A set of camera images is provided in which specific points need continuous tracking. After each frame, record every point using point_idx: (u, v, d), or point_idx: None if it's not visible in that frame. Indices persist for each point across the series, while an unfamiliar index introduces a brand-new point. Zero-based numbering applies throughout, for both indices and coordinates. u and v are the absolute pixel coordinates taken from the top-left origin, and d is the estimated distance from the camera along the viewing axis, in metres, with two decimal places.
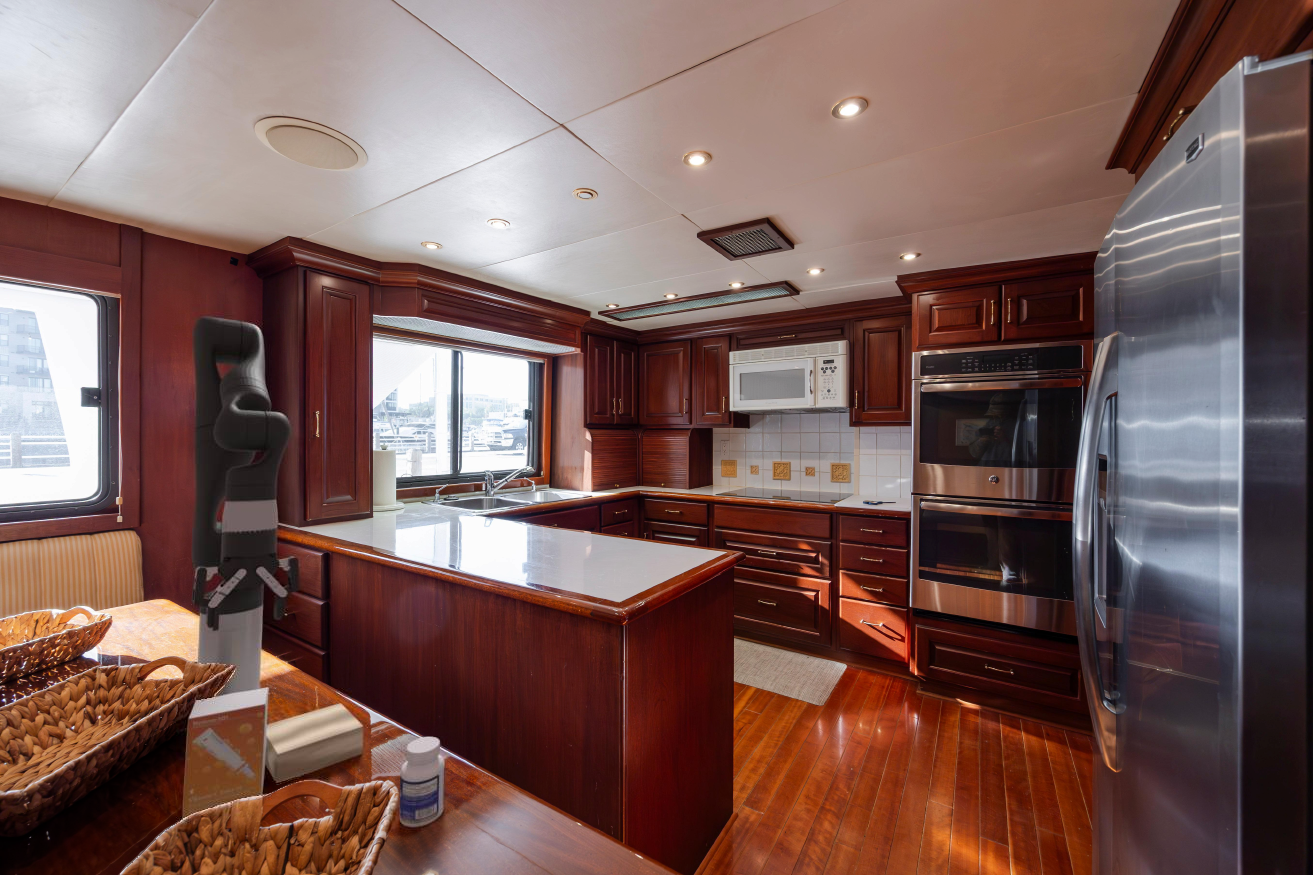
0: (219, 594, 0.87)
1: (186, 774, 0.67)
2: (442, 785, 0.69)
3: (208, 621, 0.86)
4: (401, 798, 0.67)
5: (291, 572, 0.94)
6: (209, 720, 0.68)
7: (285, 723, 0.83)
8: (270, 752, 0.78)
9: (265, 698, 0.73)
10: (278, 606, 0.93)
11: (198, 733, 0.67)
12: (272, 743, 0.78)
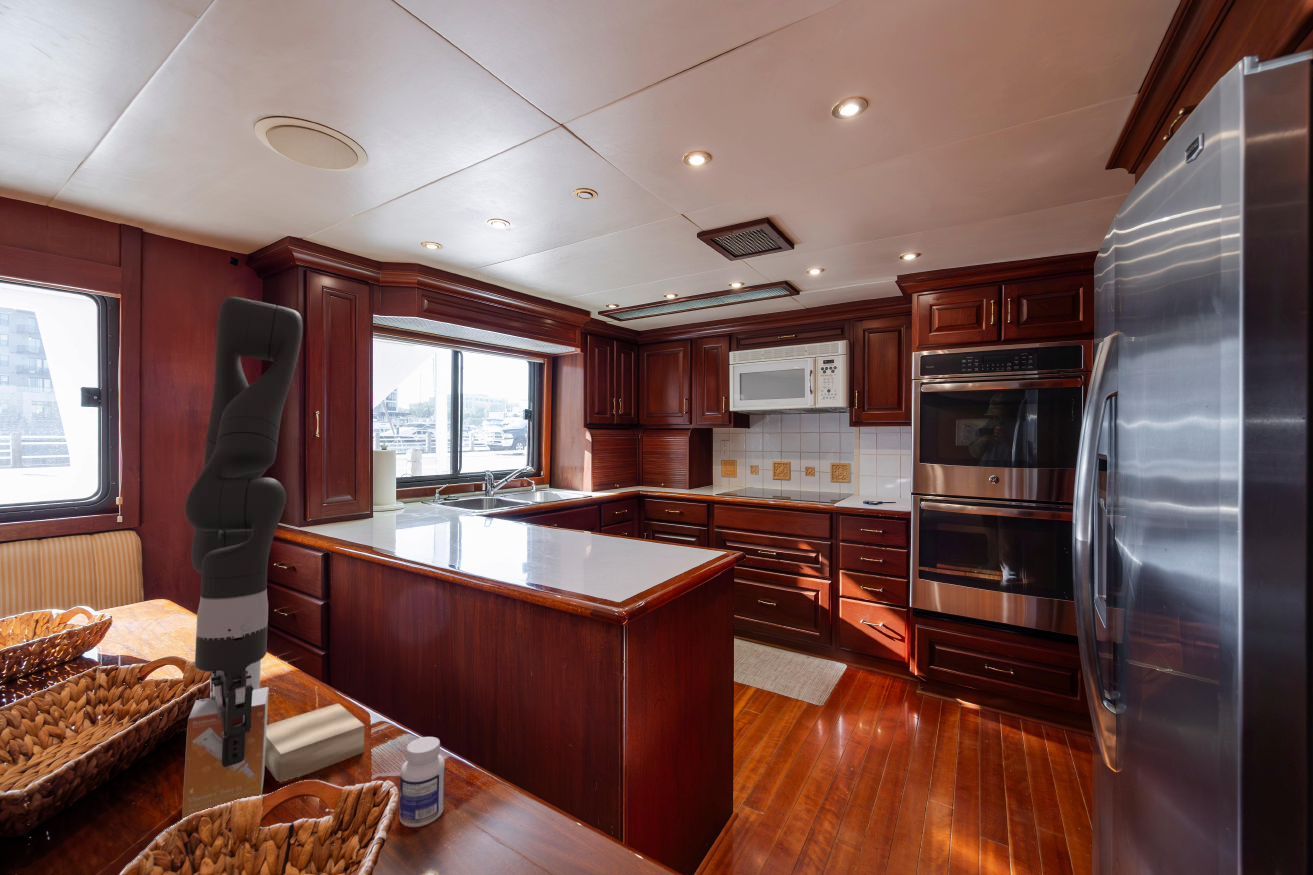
0: None
1: (186, 774, 0.67)
2: (442, 785, 0.69)
3: (241, 751, 0.68)
4: (401, 798, 0.67)
5: None
6: (209, 719, 0.68)
7: (284, 723, 0.83)
8: (271, 752, 0.78)
9: (265, 698, 0.73)
10: None
11: (198, 732, 0.67)
12: (273, 743, 0.77)
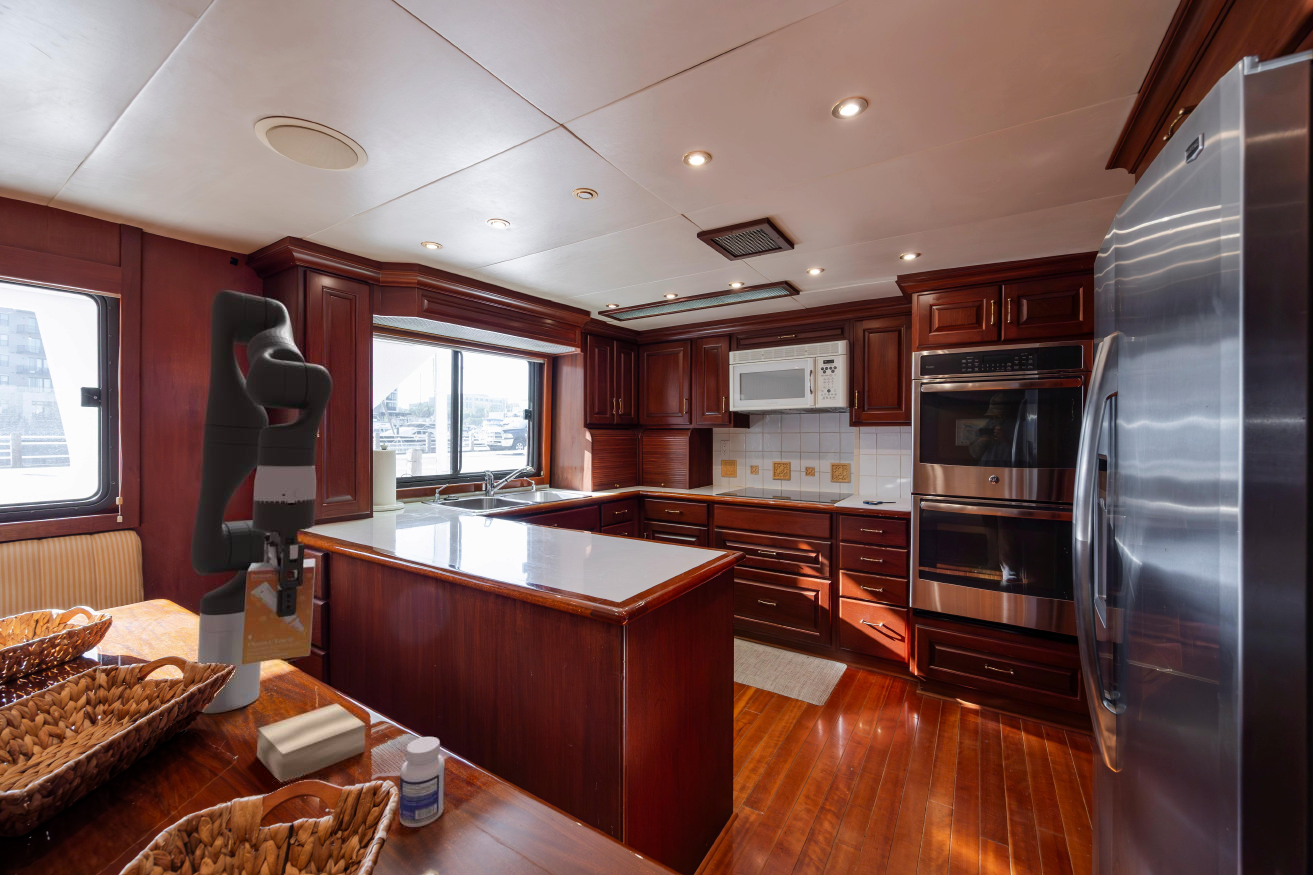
0: None
1: (245, 621, 0.74)
2: (442, 785, 0.69)
3: (293, 604, 0.75)
4: (401, 798, 0.67)
5: None
6: (265, 574, 0.75)
7: (283, 724, 0.83)
8: (272, 753, 0.77)
9: (313, 563, 0.80)
10: None
11: (256, 585, 0.74)
12: (274, 744, 0.77)
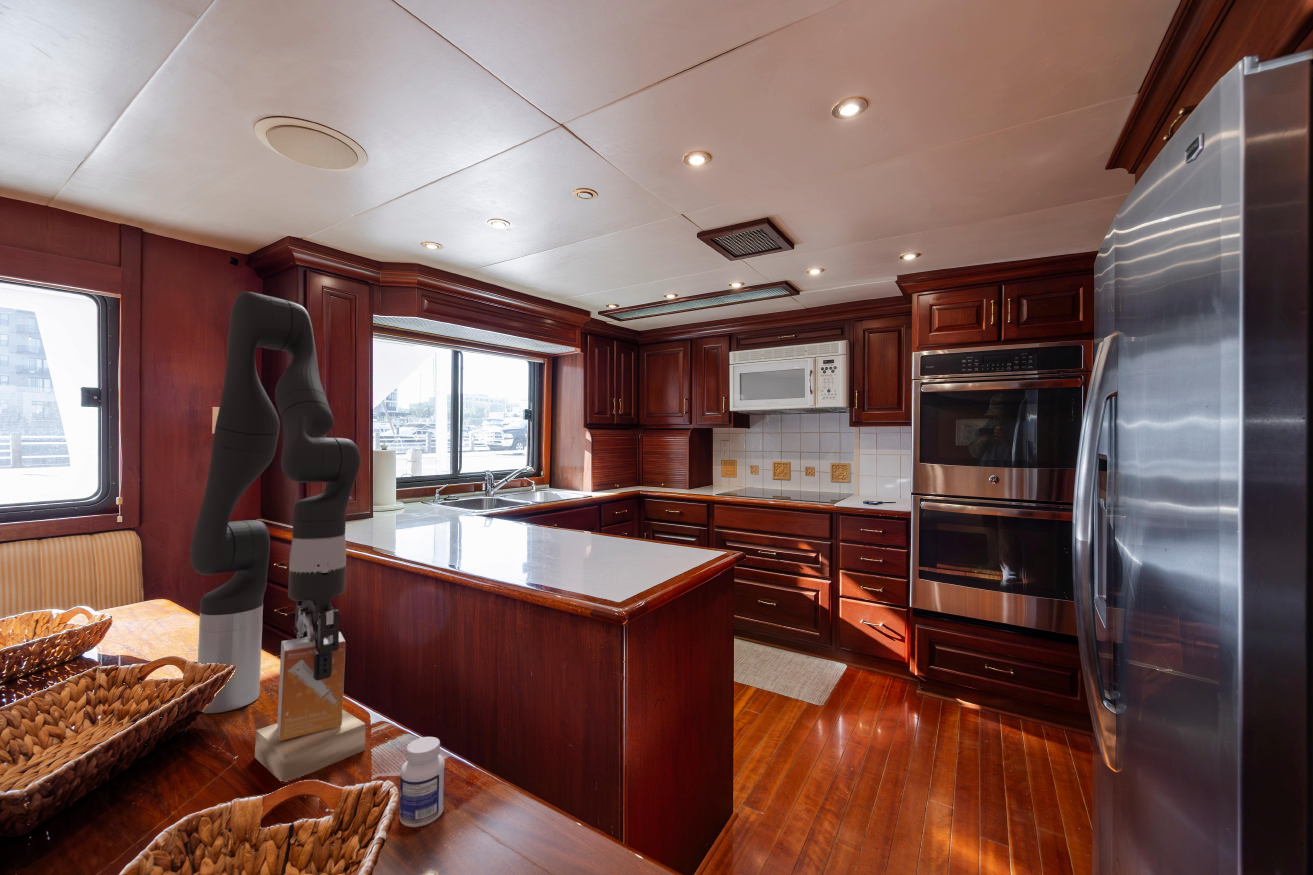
0: None
1: (283, 698, 0.78)
2: (442, 785, 0.69)
3: (329, 667, 0.80)
4: (401, 798, 0.67)
5: None
6: (301, 652, 0.80)
7: None
8: (272, 754, 0.77)
9: (342, 638, 0.85)
10: None
11: (293, 663, 0.79)
12: (275, 745, 0.77)
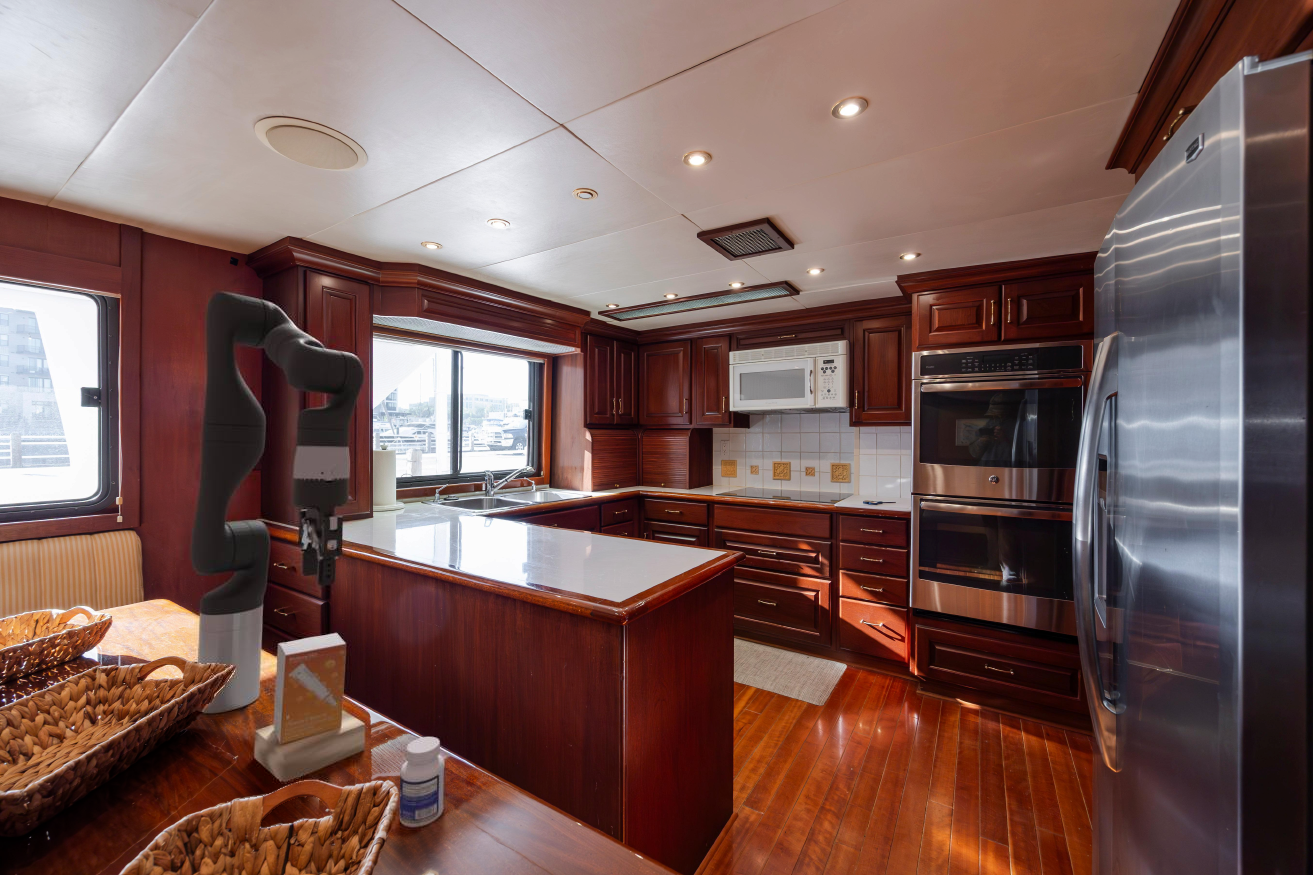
0: (335, 544, 0.82)
1: (283, 702, 0.77)
2: (442, 785, 0.69)
3: (333, 574, 0.80)
4: (401, 798, 0.67)
5: None
6: (302, 656, 0.79)
7: None
8: (272, 754, 0.77)
9: (342, 640, 0.84)
10: None
11: (294, 667, 0.78)
12: (274, 745, 0.77)
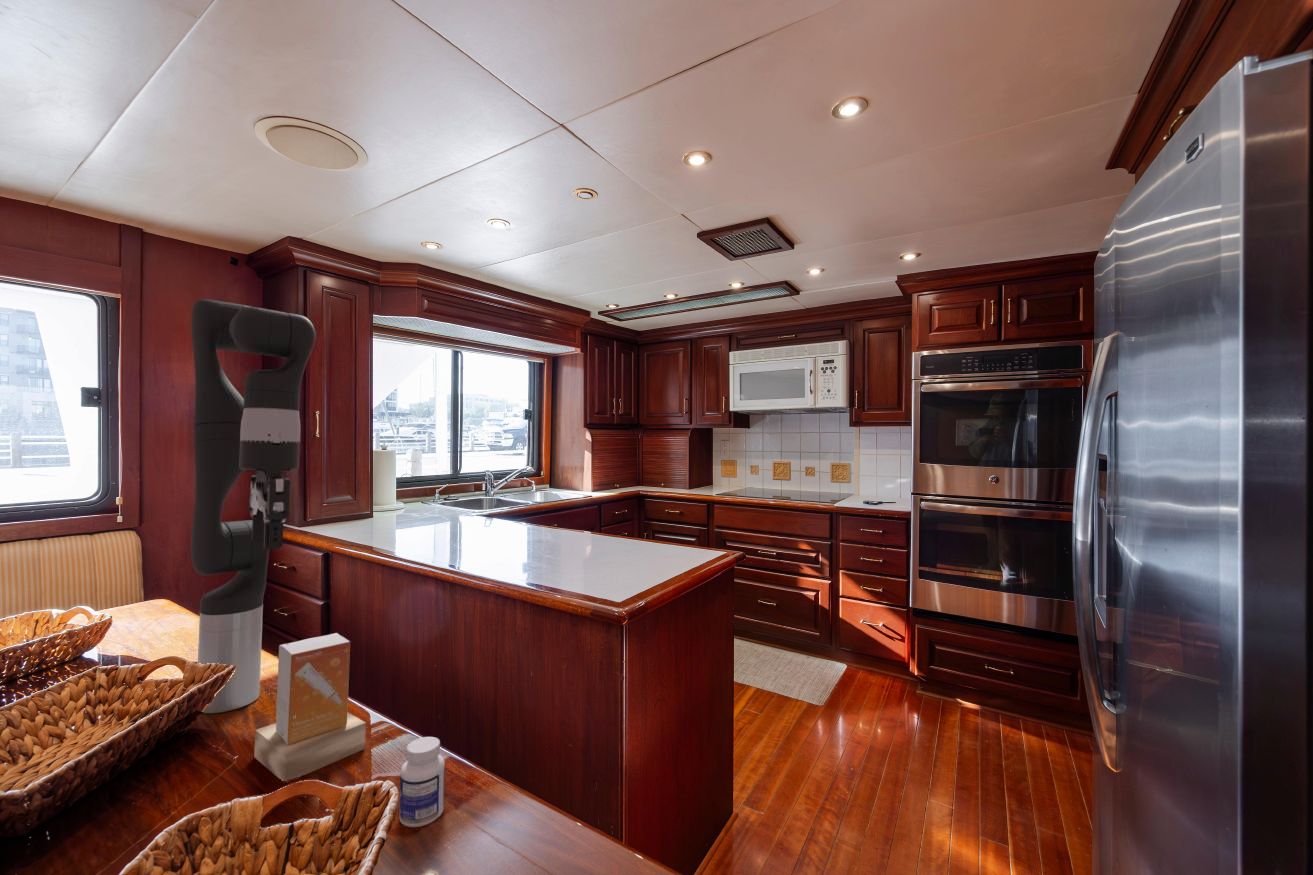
0: None
1: (290, 702, 0.77)
2: (442, 785, 0.69)
3: (280, 537, 0.79)
4: (401, 798, 0.67)
5: None
6: (307, 655, 0.79)
7: None
8: (273, 753, 0.78)
9: None
10: None
11: (300, 666, 0.78)
12: (275, 744, 0.77)
